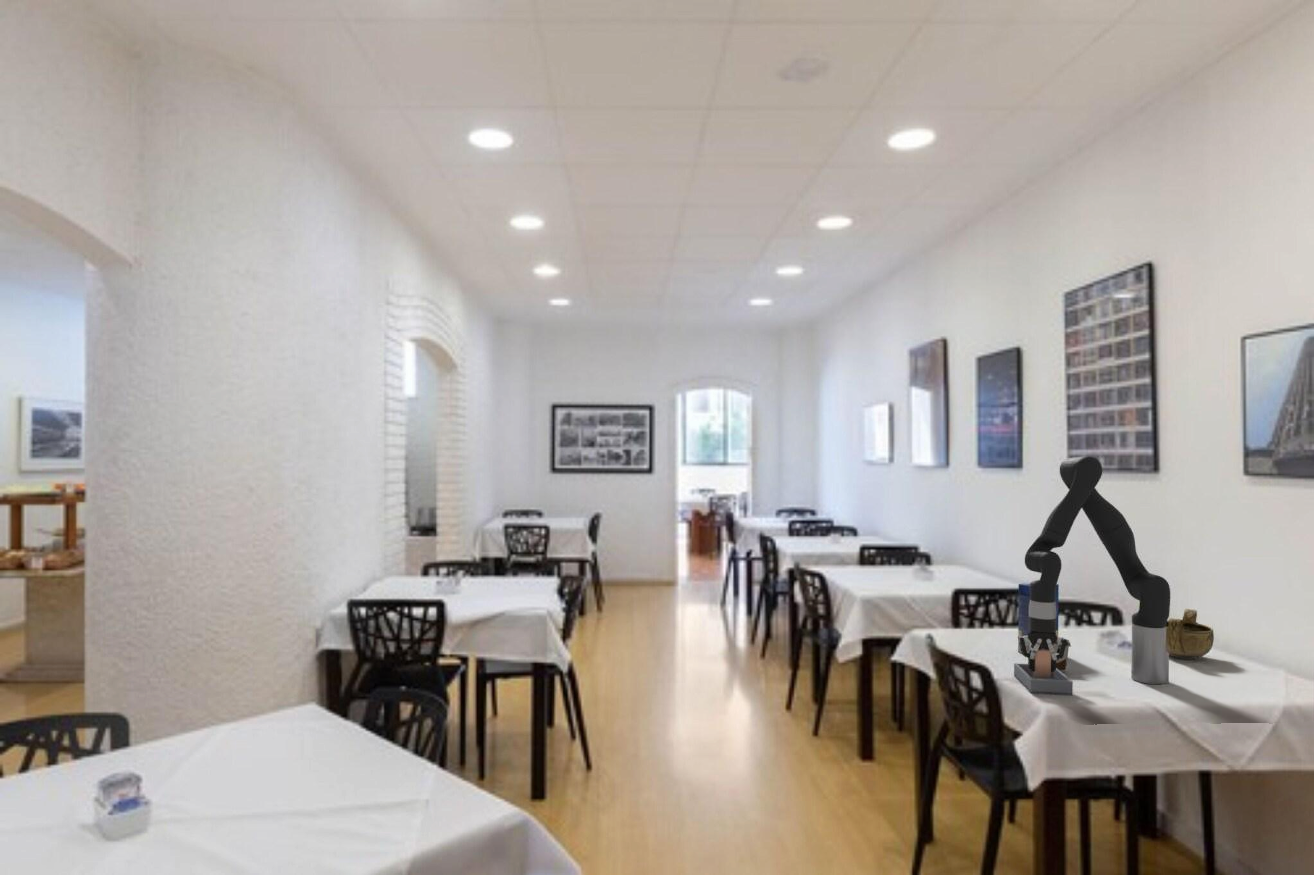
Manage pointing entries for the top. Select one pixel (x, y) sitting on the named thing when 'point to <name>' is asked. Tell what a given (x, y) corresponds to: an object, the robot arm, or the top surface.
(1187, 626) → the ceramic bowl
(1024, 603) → the juice carton
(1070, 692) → the bin
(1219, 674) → the top surface
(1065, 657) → the food container
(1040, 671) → the brown upright block
